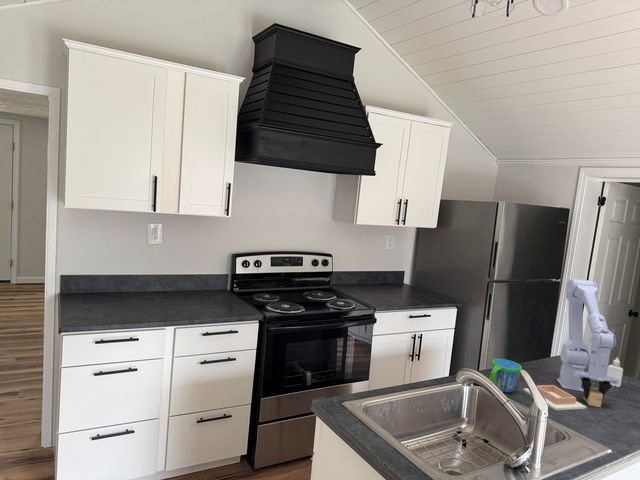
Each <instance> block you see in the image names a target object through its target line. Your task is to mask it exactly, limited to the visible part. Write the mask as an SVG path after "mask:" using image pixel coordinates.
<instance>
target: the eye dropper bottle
mask: <svg viewBox="0 0 640 480" xmlns="http://www.w3.org/2000/svg"><path fill="white" fill-rule="evenodd" d="M620 365H621V361H620V360H619V357H616V358H615V359H613V360H612V364H608V367H607V373H606V376H610V377H614V378H617V379H619V384H618V385H616V384H614V383H610V384H611V385H612V386H611V387H615V386H616V387H615V388H620V387H621V385H622V381H623V379H622V378H623V374H624V368H622V367H621V366H620Z"/></svg>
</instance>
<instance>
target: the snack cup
mask: <svg viewBox="0 0 640 480" xmlns="http://www.w3.org/2000/svg"><path fill="white" fill-rule="evenodd" d="M491 366H492V369H491V372H490V376H489V377H488V378H489V379H490V380H491V381H492V382H494V383H495V384H496V385H497V386H498V387H499V388H500V389H501V390H502V391H501V392H503V393H513V391H514V390H515V388H516V385H517V382H518V380H519V378H520V377H521V372H520V370H523V368H522V365H521V364H519V363H518V362H515V361H513V360H509V359H505V358H504V359H503V358H495V359H492V360H491Z"/></svg>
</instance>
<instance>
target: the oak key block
mask: <svg viewBox="0 0 640 480" xmlns="http://www.w3.org/2000/svg"><path fill="white" fill-rule="evenodd" d="M602 397H603V398H604V396H603V394H602V393H601V392H600V391H599V388H597V387H593V386H591V387H590V390H589V396H588V399H586V398H585V397H584V396H583V397H582V399H583V400H584V401H585V403H586V404H587V405H588V406H591V407H596V408H602V407H601V406H602V402H603V398H602Z"/></svg>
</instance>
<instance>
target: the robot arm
mask: <svg viewBox="0 0 640 480" xmlns="http://www.w3.org/2000/svg"><path fill="white" fill-rule="evenodd" d="M598 288H599V287H598V284H597V282H596V281H595V280H585V279H578V278H577V279H576V278H569V279H568V281H567V282H566V284H565V298H566V299H567V300H568V301H567V302H568V341H566V342H564V343H563V344H562V345H561V349H560V350H561V351H560V361H561V363H562V364H561V367H560V372H559V378H556V381H557V382H558V383H559V385H560V386H561V387H562V388H563V389H567V390H572V391H578V392H583V397H585V398H586V399H588V396H589V390H590V387H592V382H591V380H592V381H597V382H598V390H599V391H600V392H601V393H602V394H603V397H602V399H603V398H604V397H605V395H606V393H607V392H608V391H609V390H610V389H611V388H612V386H611V384H610V383H614V384H616V385H618V384H619V379H617V378H614V377H610V376H606V374H607V368H608V366H609V361H610V356H611V350H612V349H615V347H616V344H617V339H616V338H617V337H616V335H615V334H614V333H613V332H612V331H611V330H609V326H608V325H607V321H606V318H605V316H604V315H603V314H601V313H600V307H599V304H598V301H597V295H598V291H599V289H598ZM583 304H584V306H585V308H586V311H587V313H588V315H589V316H588V317H587V322H588V325H589V330H590V333H591V336H590V347H589V346H588V345H587V344H586V343H585V342H584V318H583V317H584V314H583V313H584V311H583V310H584V308H583ZM590 351H591V353H590ZM587 367H588V369H587ZM585 369H587V371H585Z"/></svg>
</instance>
